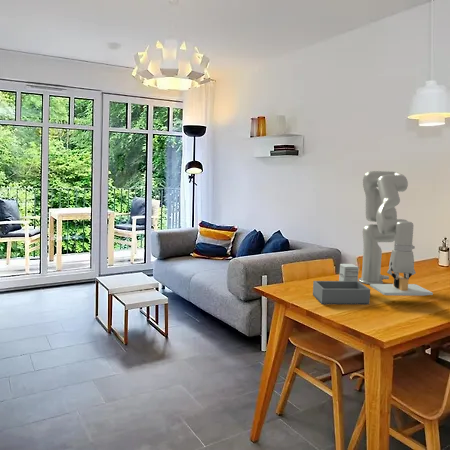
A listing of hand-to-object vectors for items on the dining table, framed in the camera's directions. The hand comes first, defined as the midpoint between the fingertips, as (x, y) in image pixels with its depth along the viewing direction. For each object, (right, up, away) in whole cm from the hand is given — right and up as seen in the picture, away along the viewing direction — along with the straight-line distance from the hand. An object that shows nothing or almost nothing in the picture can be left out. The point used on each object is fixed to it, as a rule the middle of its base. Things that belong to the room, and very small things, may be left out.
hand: (400, 287), depth 206 cm
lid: (0, -2, 0) cm, 2 cm away
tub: (-27, -6, +2) cm, 28 cm away
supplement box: (-19, -4, +21) cm, 28 cm away
